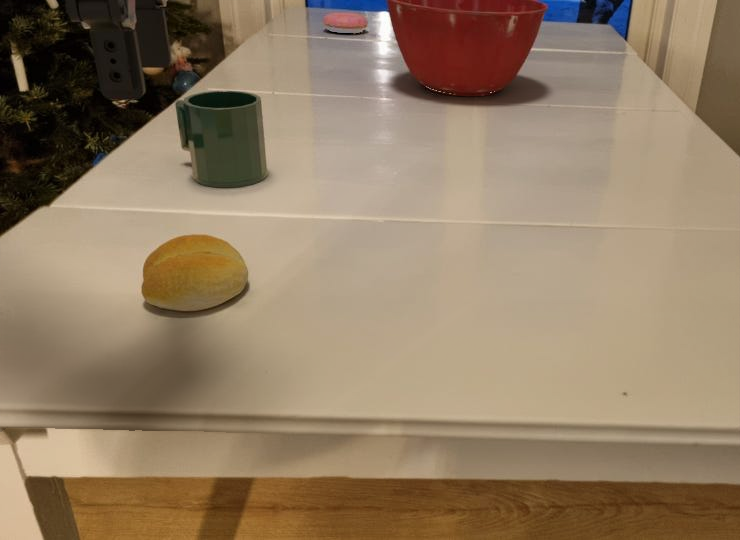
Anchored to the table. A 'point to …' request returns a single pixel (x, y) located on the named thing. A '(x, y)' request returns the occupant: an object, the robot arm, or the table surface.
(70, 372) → the table surface
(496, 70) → the mixing bowl
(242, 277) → the bread roll
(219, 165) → the mug
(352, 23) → the doughnut
